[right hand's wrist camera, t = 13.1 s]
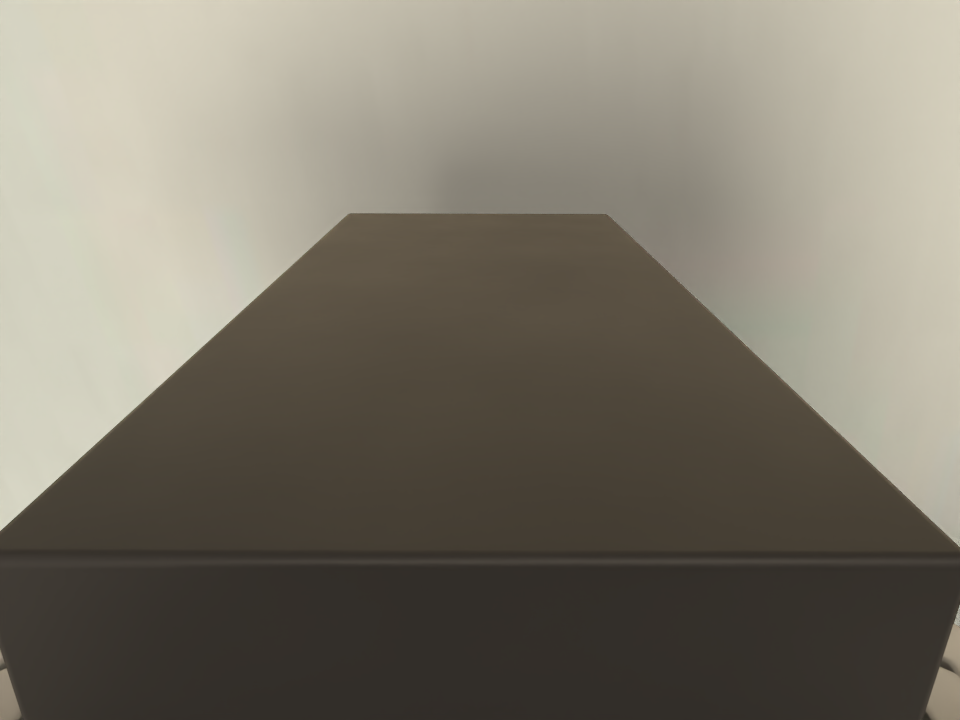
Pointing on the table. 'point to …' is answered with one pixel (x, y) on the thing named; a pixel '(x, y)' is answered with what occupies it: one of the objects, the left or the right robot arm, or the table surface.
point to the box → (475, 510)
